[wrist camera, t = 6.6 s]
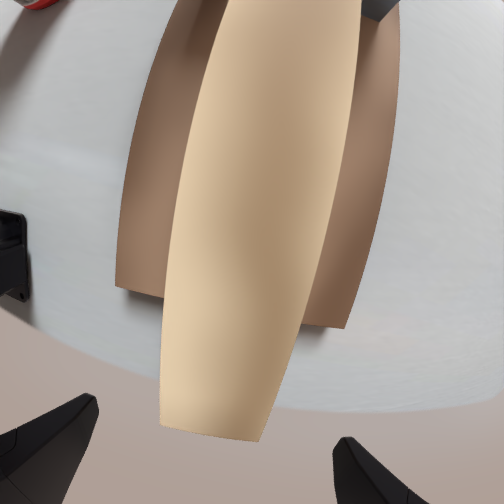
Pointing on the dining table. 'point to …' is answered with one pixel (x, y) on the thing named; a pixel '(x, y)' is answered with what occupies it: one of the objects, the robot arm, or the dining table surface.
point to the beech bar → (253, 209)
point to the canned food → (36, 3)
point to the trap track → (176, 138)
